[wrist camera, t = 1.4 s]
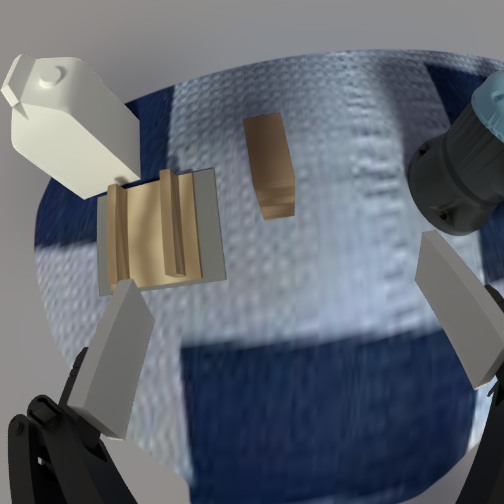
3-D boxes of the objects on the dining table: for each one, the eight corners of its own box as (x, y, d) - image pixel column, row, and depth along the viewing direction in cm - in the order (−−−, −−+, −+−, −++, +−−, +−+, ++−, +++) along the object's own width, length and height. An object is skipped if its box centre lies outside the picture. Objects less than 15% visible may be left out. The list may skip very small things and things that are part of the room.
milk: (87, 142, 47) (-2, 65, 22) (139, 120, 46) (58, 19, 21) (84, 199, 44) (-30, 131, 19) (140, 178, 43) (31, 80, 18)
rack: (193, 175, 42) (183, 161, 38) (203, 278, 39) (192, 274, 35) (112, 196, 43) (97, 186, 39) (114, 290, 40) (97, 288, 36)
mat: (214, 168, 42) (213, 168, 42) (226, 279, 39) (225, 279, 39) (99, 198, 44) (98, 197, 44) (100, 296, 41) (99, 296, 41)
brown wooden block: (283, 162, 41) (280, 112, 29) (294, 215, 39) (294, 178, 28) (255, 167, 41) (242, 118, 30) (264, 220, 40) (253, 184, 28)
